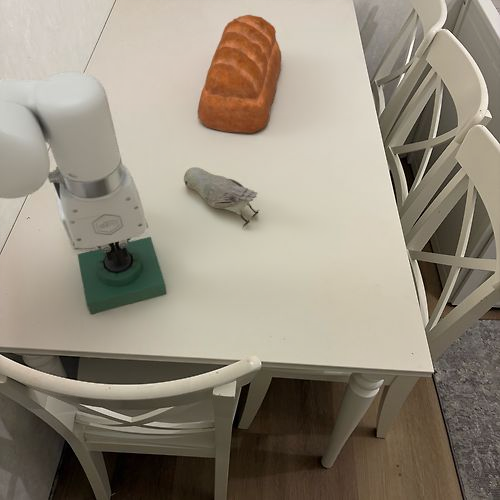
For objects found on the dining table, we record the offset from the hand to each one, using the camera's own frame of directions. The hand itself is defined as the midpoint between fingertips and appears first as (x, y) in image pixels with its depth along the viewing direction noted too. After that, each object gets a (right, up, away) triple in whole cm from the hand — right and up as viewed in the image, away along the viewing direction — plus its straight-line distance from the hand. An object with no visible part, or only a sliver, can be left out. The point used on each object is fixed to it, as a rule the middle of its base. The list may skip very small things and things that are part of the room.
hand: (118, 259), depth 75 cm
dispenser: (0, -3, +4) cm, 5 cm away
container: (-8, +5, +11) cm, 14 cm away
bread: (+19, +38, +38) cm, 57 cm away
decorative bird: (+15, +10, +15) cm, 23 cm away
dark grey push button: (0, -1, +2) cm, 2 cm away
